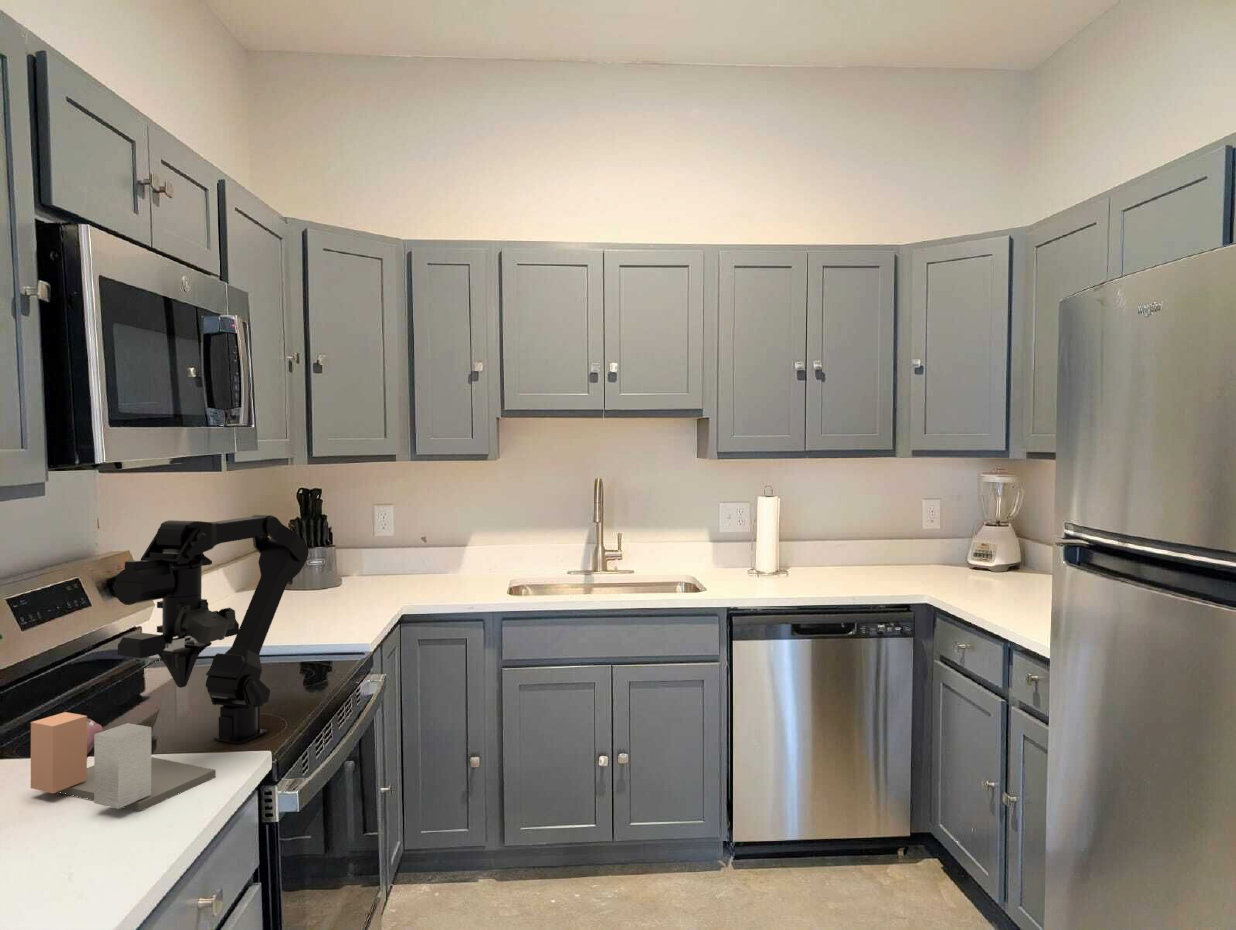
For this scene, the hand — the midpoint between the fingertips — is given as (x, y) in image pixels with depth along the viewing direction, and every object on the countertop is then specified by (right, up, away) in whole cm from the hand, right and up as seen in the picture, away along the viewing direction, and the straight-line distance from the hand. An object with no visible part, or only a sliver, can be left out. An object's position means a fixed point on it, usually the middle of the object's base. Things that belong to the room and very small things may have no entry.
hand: (181, 686), depth 127 cm
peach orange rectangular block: (-12, -11, -12) cm, 20 cm away
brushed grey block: (+1, -12, -17) cm, 20 cm away
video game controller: (-22, -13, +5) cm, 26 cm away
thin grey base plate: (-3, -13, -8) cm, 16 cm away
